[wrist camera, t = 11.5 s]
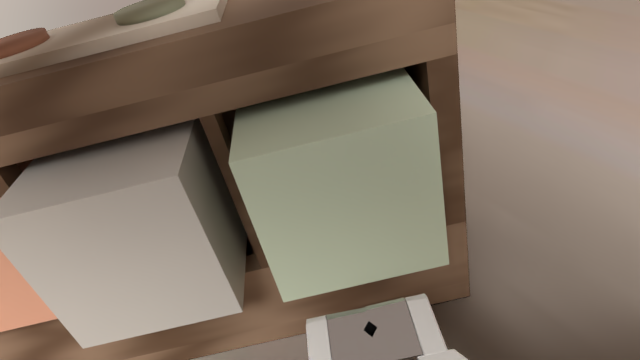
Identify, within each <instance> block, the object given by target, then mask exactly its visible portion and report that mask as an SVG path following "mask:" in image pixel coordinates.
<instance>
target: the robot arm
mask: <svg viewBox="0 0 640 360" xmlns="http://www.w3.org/2000/svg"><path fill="white" fill-rule="evenodd" d="M306 334H307V346H308V358H309V360H468V359H467V358H466V357H464V356H463V355H462V354H460V353H459V352H458V351H456V350H455V349H450V350H448V349H447V346H446V344H445V341H444V339H443V336H442V333H441V331H440V328H439V326H438V323H437V320H436V318H435V315H434V313H433V310H432V307H431V305H430V302H429V300H428V297H427V296H426V295H425V293H423V294H419V295H415V296H410V297H406V298H405V299H404V298H399V299H395V300H391V301H387V302H382V303H378V304H374V305H370V306H366V307H365V308H359V309H354V310H349V311H344V312H339V313H334V314H329V315H324V316H319V317H315V318H310V319H307V320H306Z"/></svg>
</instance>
